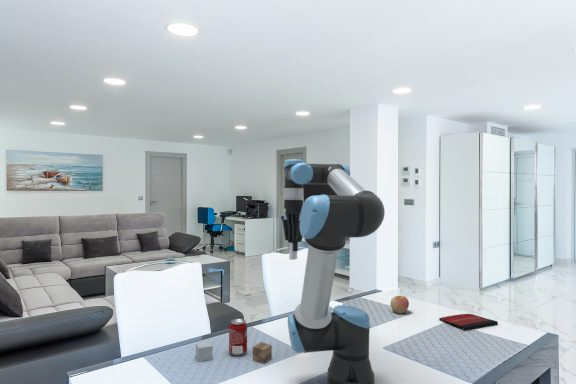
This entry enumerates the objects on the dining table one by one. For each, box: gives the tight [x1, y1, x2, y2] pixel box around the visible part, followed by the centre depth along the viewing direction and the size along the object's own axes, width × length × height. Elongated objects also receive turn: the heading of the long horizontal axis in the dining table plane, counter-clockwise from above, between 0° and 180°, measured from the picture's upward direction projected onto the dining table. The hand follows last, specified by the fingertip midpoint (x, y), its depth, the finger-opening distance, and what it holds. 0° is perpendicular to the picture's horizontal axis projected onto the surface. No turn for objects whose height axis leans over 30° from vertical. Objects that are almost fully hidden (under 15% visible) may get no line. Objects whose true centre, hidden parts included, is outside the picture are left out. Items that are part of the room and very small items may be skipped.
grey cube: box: [195, 340, 214, 363], centre depth 142 cm, size 5×5×5 cm
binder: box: [438, 313, 499, 332], centre depth 182 cm, size 16×2×21 cm
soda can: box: [228, 318, 248, 356], centre depth 146 cm, size 7×7×12 cm
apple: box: [390, 295, 410, 314], centre depth 195 cm, size 9×9×8 cm
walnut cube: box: [252, 341, 273, 364], centre depth 141 cm, size 5×5×5 cm
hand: (293, 259), depth 152 cm, fingers closed
